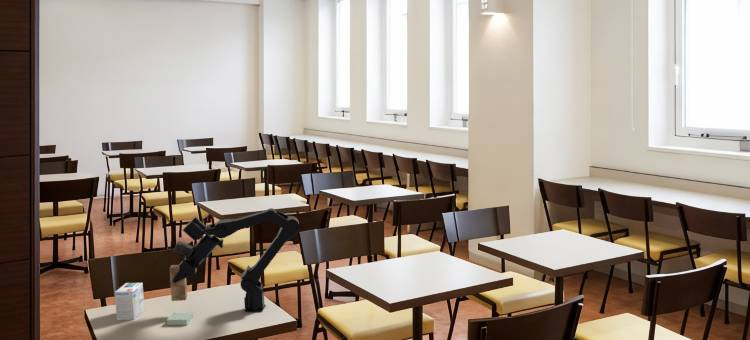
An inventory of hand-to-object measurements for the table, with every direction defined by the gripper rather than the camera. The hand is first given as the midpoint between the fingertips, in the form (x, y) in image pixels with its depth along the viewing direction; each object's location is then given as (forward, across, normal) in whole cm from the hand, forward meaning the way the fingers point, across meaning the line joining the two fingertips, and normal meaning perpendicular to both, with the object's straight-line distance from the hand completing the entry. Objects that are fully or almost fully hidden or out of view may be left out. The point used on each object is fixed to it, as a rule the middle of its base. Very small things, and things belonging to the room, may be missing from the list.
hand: (174, 279), depth 251 cm
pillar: (+4, 0, +6) cm, 7 cm away
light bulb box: (+21, -3, -2) cm, 22 cm away
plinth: (+8, +8, +11) cm, 16 cm away
